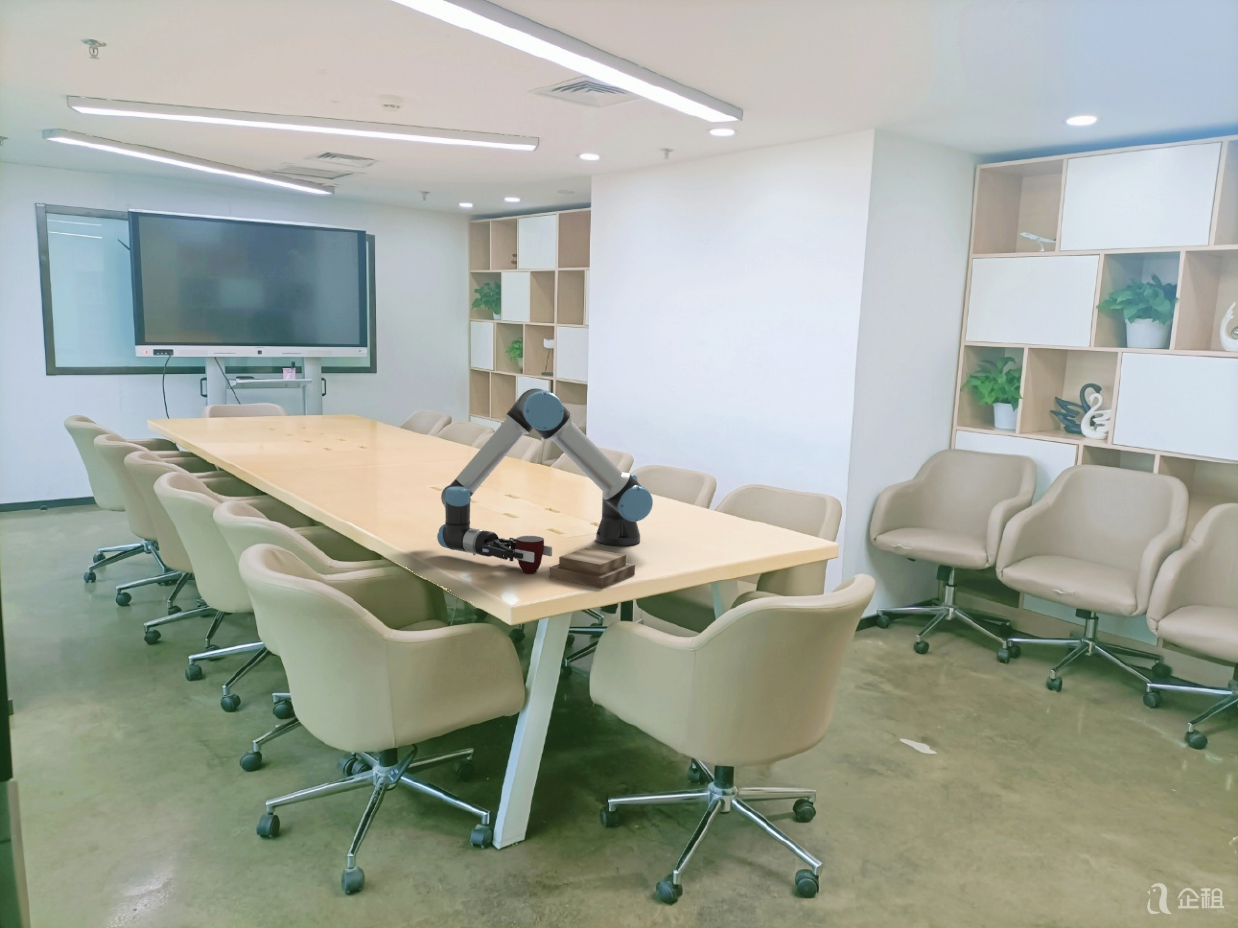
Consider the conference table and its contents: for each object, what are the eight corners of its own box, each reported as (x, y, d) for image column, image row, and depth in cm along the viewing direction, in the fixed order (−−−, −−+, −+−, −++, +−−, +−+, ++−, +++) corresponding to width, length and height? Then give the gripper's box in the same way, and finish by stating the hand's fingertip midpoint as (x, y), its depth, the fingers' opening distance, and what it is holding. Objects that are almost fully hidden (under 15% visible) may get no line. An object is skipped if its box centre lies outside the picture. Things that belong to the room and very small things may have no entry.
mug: (503, 570, 253) (504, 537, 252) (521, 565, 260) (522, 533, 259) (531, 577, 248) (531, 543, 246) (548, 571, 254) (549, 538, 253)
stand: (583, 564, 264) (584, 545, 263) (634, 574, 254) (635, 554, 254) (549, 577, 248) (549, 557, 248) (601, 588, 239) (602, 567, 238)
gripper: (503, 548, 271) (562, 559, 259) (458, 561, 253) (520, 574, 242) (503, 524, 270) (563, 535, 258) (458, 536, 252) (520, 548, 241)
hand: (542, 554), depth 250 cm, fingers closed on mug, 8 cm apart
